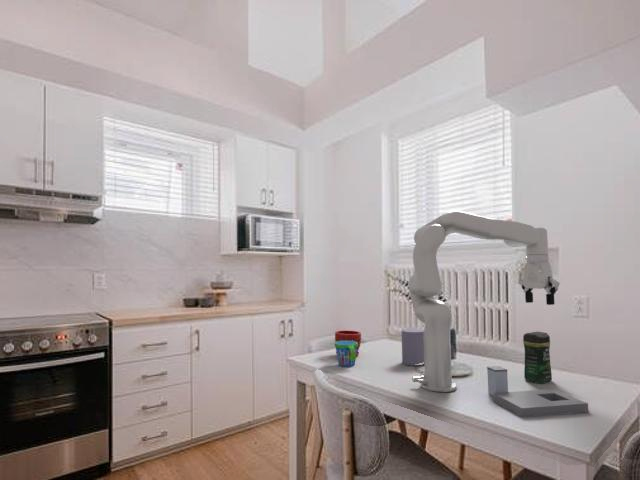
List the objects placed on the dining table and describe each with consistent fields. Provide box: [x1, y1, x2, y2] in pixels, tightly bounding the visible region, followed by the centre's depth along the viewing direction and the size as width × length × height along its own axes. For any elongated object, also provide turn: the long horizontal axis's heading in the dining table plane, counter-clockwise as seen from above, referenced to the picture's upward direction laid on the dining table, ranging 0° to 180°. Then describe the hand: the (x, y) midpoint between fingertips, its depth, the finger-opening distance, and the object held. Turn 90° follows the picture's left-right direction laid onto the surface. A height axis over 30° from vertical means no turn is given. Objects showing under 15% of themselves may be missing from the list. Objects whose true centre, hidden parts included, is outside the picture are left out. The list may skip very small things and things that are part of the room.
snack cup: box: [334, 340, 358, 367], centre depth 175 cm, size 16×10×10 cm
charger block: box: [486, 365, 509, 397], centre depth 132 cm, size 5×5×9 cm
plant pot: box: [334, 330, 362, 357], centre depth 193 cm, size 13×13×12 cm
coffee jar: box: [522, 331, 553, 384], centre depth 148 cm, size 10×8×19 cm
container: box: [401, 328, 424, 367], centre depth 177 cm, size 10×10×15 cm
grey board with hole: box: [492, 388, 589, 418], centre depth 121 cm, size 22×14×2 cm, turn 99°
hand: (539, 303), depth 148 cm, fingers open, 9 cm apart
